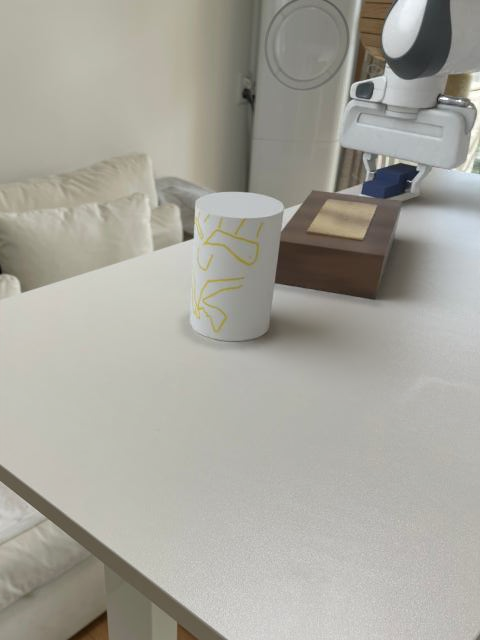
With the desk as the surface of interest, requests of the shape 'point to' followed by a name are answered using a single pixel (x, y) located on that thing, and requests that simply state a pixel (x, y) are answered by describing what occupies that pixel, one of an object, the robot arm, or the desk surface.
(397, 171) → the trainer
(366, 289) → the brown block
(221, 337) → the yellow doodled cylinder
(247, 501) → the desk surface
